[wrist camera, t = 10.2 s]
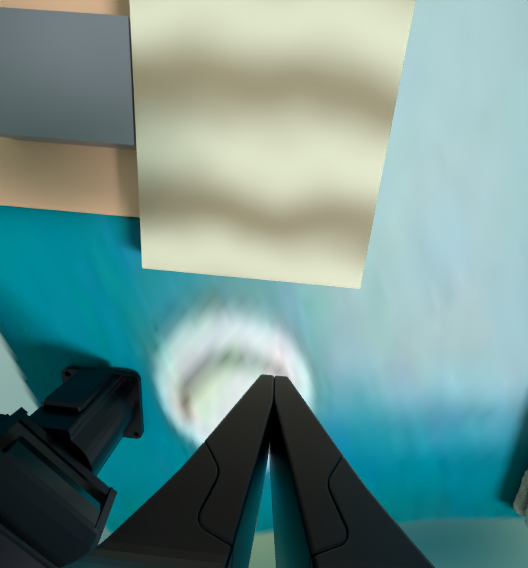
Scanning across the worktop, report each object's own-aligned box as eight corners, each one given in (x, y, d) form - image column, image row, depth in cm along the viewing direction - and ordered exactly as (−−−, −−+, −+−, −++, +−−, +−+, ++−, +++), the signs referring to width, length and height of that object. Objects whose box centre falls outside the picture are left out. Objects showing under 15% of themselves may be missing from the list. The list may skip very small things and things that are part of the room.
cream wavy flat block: (350, 278, 20) (359, 288, 17) (158, 260, 20) (142, 268, 18) (418, -101, 14) (446, -163, 12) (147, -114, 14) (120, -177, 12)
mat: (157, 218, 19) (154, 218, 19) (-14, 203, 20) (-20, 203, 19) (149, -40, 15) (146, -46, 15) (-67, -53, 16) (-75, -59, 15)
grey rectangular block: (149, 151, 18) (133, 145, 16) (14, 139, 18) (-17, 132, 16) (146, 38, 16) (127, 15, 14) (-4, 27, 16) (-42, 4, 14)
